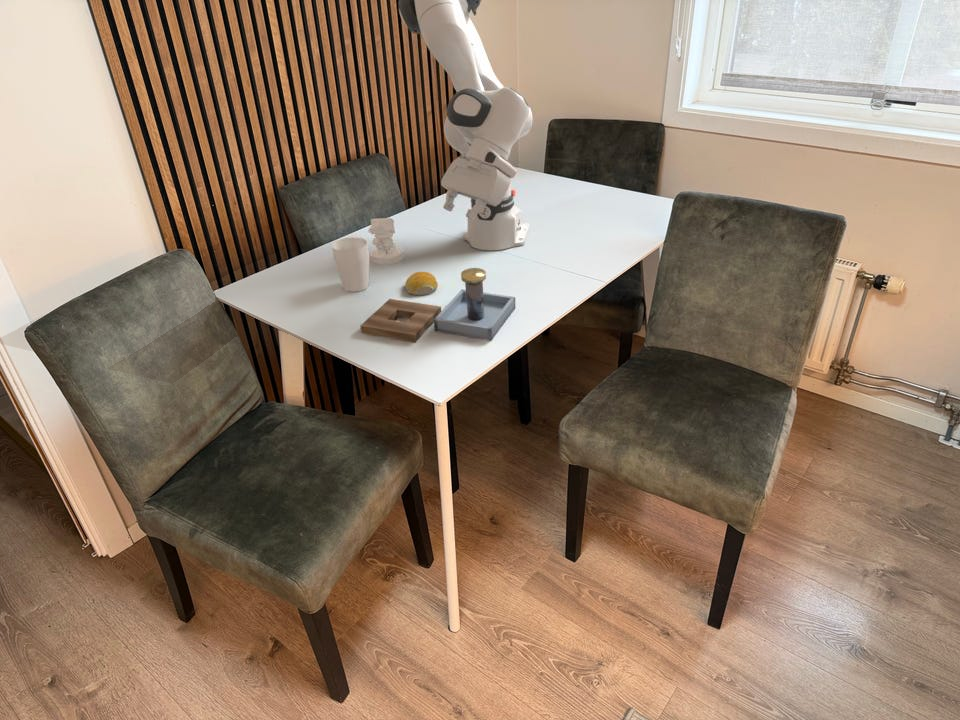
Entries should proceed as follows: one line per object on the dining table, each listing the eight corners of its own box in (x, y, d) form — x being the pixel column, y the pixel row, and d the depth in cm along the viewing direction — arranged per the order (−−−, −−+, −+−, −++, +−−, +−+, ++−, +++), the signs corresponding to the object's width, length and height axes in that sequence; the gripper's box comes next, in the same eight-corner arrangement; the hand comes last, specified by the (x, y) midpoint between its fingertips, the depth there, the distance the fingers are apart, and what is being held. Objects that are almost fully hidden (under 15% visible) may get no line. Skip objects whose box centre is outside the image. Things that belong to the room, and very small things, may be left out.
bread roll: (434, 279, 178) (432, 265, 176) (440, 293, 170) (439, 279, 168) (403, 283, 176) (401, 269, 174) (408, 298, 169) (406, 284, 167)
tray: (462, 300, 166) (461, 289, 165) (515, 308, 161) (515, 297, 160) (434, 331, 154) (433, 319, 152) (491, 340, 149) (490, 328, 147)
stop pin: (469, 309, 160) (466, 266, 154) (491, 312, 158) (489, 269, 152) (460, 320, 156) (457, 276, 150) (482, 323, 154) (480, 279, 148)
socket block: (390, 305, 165) (389, 298, 164) (441, 313, 161) (441, 306, 160) (361, 333, 155) (360, 325, 154) (415, 342, 150) (414, 334, 149)
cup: (336, 283, 178) (328, 240, 172) (369, 276, 180) (363, 234, 174) (342, 297, 171) (335, 253, 164) (377, 290, 173) (371, 247, 167)
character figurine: (370, 265, 187) (364, 224, 180) (375, 251, 195) (369, 211, 188) (401, 264, 186) (396, 223, 180) (405, 250, 194) (400, 210, 188)
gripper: (451, 146, 157) (424, 199, 159) (503, 158, 142) (473, 217, 144) (469, 159, 162) (443, 210, 163) (521, 173, 147) (492, 229, 148)
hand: (458, 214), depth 153 cm, fingers open, 8 cm apart
